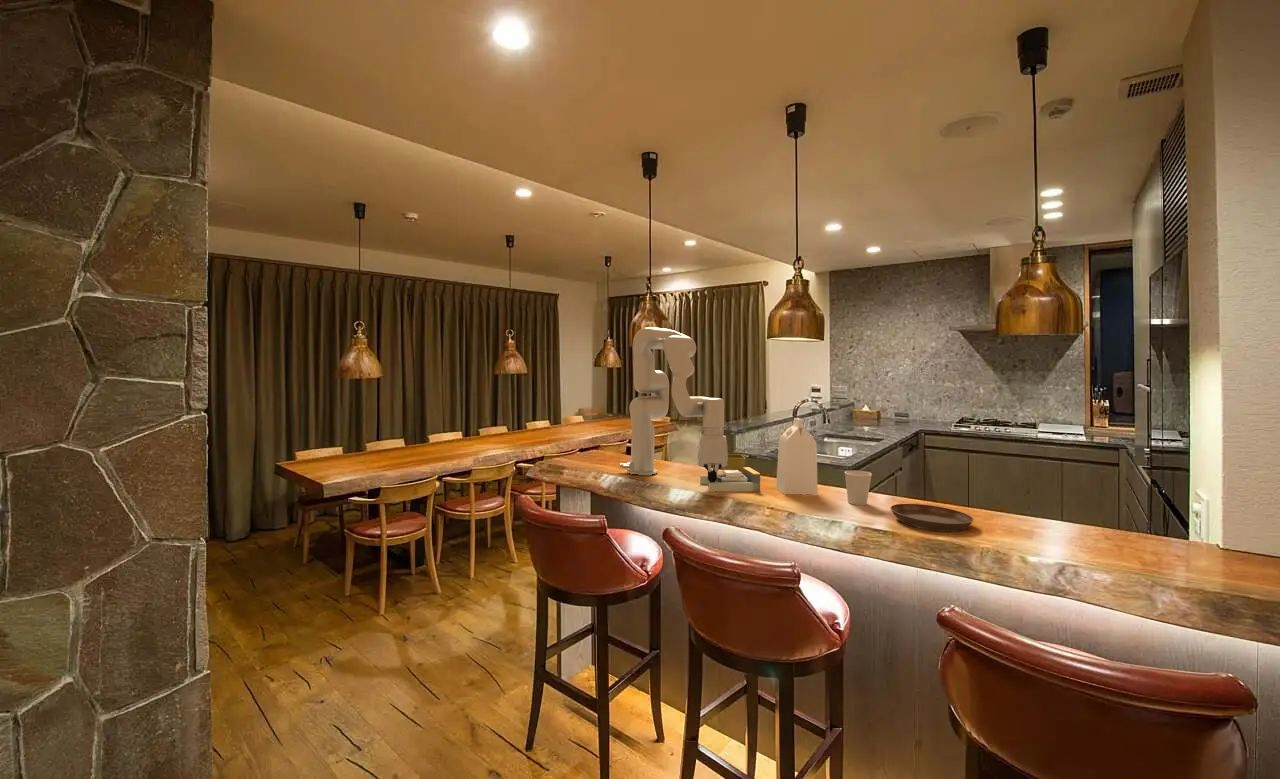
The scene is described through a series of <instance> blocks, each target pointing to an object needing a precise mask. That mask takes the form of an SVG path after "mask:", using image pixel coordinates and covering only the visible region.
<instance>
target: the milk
mask: <svg viewBox="0 0 1280 779" xmlns="http://www.w3.org/2000/svg"><path fill="white" fill-rule="evenodd" d="M817 444H818V443H817V441H816V440H815V438H814V437H813V436H812V435H811V434H810V433H809V432H808V431H807V430H806V429H805V428H804V424H803V419H802V418H799V417H794V418H793V422H792V425H791V426H790V427H788V428H786V430H785V431H784V432H783V434H781V435H780V437H779V439H778V452H777V453H778V454H777V467H776V480H775V481H776V484H775V488H776V487H777V488H778V490H779V492H781V491H782V492H783V493H784V494H815V495H814V496H818V491H819V490H818V454H817V453H818V451H817V450H818V447H817ZM777 488H776V489H777ZM782 492H781V493H782ZM783 493H782V494H783ZM784 494H783V495H784Z"/></svg>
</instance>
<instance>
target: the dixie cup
mask: <svg viewBox="0 0 1280 779" xmlns="http://www.w3.org/2000/svg"><path fill="white" fill-rule="evenodd" d="M844 475H845V484H846V497H847V503H848V504H850V503H851V505H853V504H856V505H855V506H866V504H868V499H869V491H870V487H871V482H872V481H871V480H872V476H873V474H872V472H869V471H864V470H845V471H844Z"/></svg>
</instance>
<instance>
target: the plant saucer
mask: <svg viewBox="0 0 1280 779" xmlns="http://www.w3.org/2000/svg"><path fill="white" fill-rule="evenodd" d="M890 511H891V512H892V514H893V515H894V517H895V518H897V520H898V521H900V522H902V523H904V524H905V525H908V526H912V527H914V526H915V527H914V528H918V527H919V528H920V529H923V530H928V529H929V531H936V530H937V531H938V532H959V531H962V530H964V529H966V528H968V527H969V526H970V525H971V524H972V523H973V522H974V517H972V516H971V515H970V514H967V513H965V512H962V511H959V510H956V509H951V508H948V507H941V506H937V505H931V504H921V503H898V504H893V505H891V506H890ZM919 528H918V529H919ZM937 531H936V532H937Z"/></svg>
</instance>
